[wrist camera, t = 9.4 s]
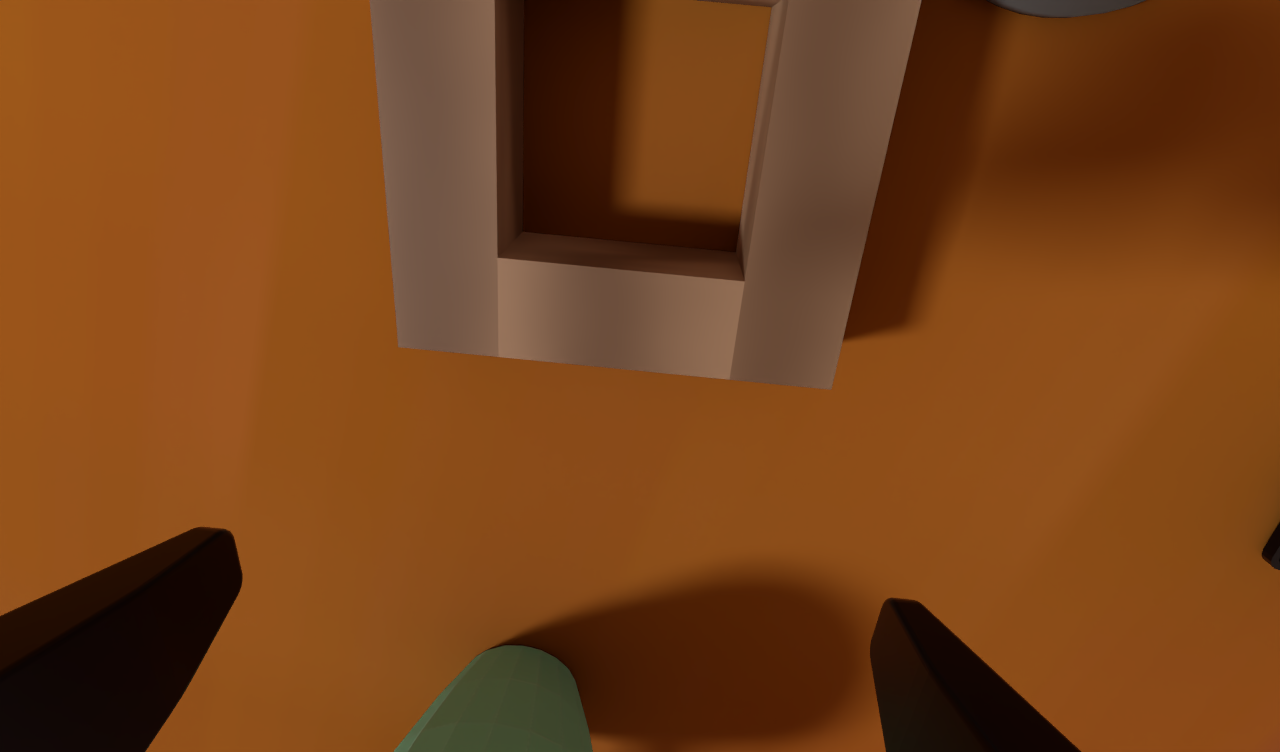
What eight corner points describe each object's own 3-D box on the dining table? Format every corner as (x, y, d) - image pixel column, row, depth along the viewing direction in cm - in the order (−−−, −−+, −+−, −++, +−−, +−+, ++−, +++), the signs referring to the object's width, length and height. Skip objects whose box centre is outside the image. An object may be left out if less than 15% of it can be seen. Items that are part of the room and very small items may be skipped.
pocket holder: (909, -117, 16) (958, -158, 13) (811, 347, 21) (831, 389, 18) (409, -161, 16) (352, -209, 13) (435, 310, 21) (398, 347, 18)
